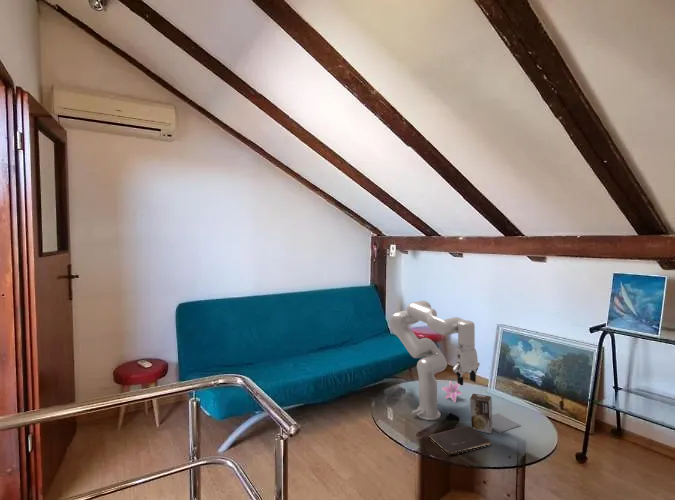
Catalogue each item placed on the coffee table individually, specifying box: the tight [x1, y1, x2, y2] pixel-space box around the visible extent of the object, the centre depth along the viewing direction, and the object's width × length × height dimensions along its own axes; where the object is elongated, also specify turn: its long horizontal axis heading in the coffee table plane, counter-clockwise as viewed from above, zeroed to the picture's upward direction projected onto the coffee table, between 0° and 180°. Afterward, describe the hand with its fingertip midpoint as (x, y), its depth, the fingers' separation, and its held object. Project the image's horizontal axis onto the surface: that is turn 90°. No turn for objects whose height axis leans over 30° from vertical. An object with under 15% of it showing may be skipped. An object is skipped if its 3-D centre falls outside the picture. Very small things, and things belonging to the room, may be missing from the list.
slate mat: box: [492, 412, 522, 434], centre depth 194 cm, size 15×14×1 cm
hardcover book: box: [428, 425, 491, 453], centre depth 178 cm, size 16×23×2 cm
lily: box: [441, 380, 463, 403], centre depth 223 cm, size 12×12×10 cm
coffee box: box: [469, 393, 493, 434], centre depth 188 cm, size 9×6×16 cm
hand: (466, 382), depth 183 cm, fingers open, 7 cm apart
